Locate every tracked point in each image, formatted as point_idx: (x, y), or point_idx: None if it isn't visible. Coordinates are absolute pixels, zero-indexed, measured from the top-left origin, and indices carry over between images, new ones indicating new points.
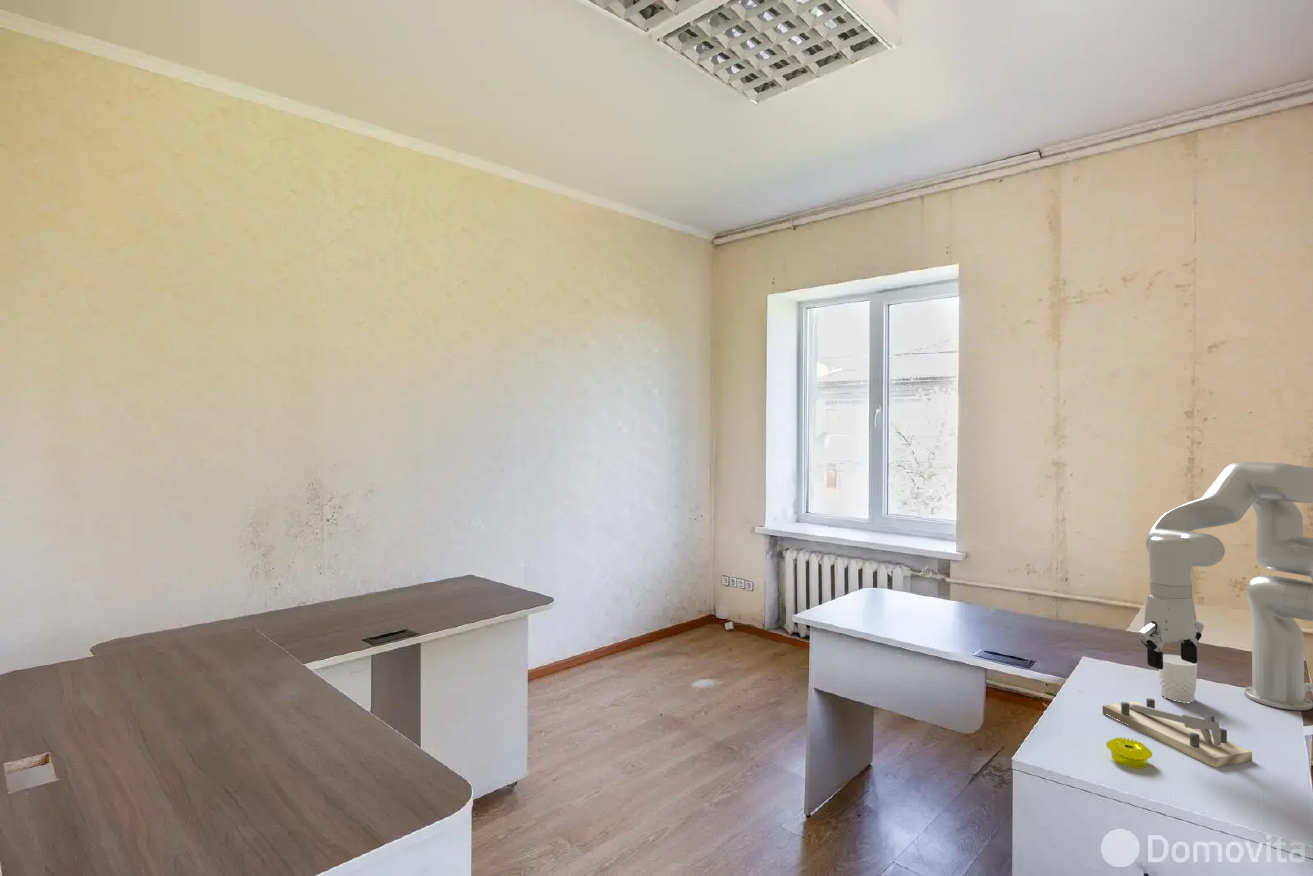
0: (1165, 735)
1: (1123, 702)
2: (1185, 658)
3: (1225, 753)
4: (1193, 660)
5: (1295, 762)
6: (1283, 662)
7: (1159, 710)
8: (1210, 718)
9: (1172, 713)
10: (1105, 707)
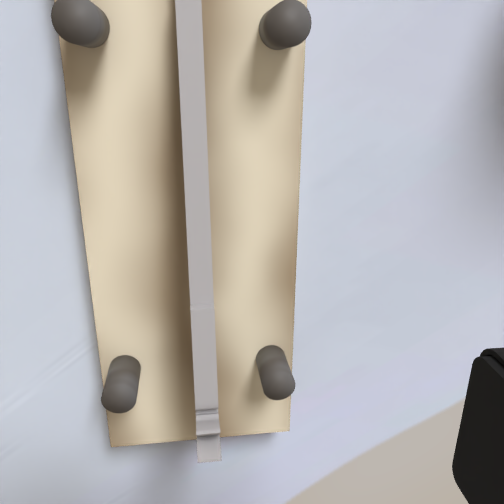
0: (89, 272)
1: (75, 2)
2: (480, 416)
3: (182, 428)
4: (470, 495)
5: (398, 432)
6: None
7: (193, 166)
8: (197, 455)
9: (200, 240)
10: None
